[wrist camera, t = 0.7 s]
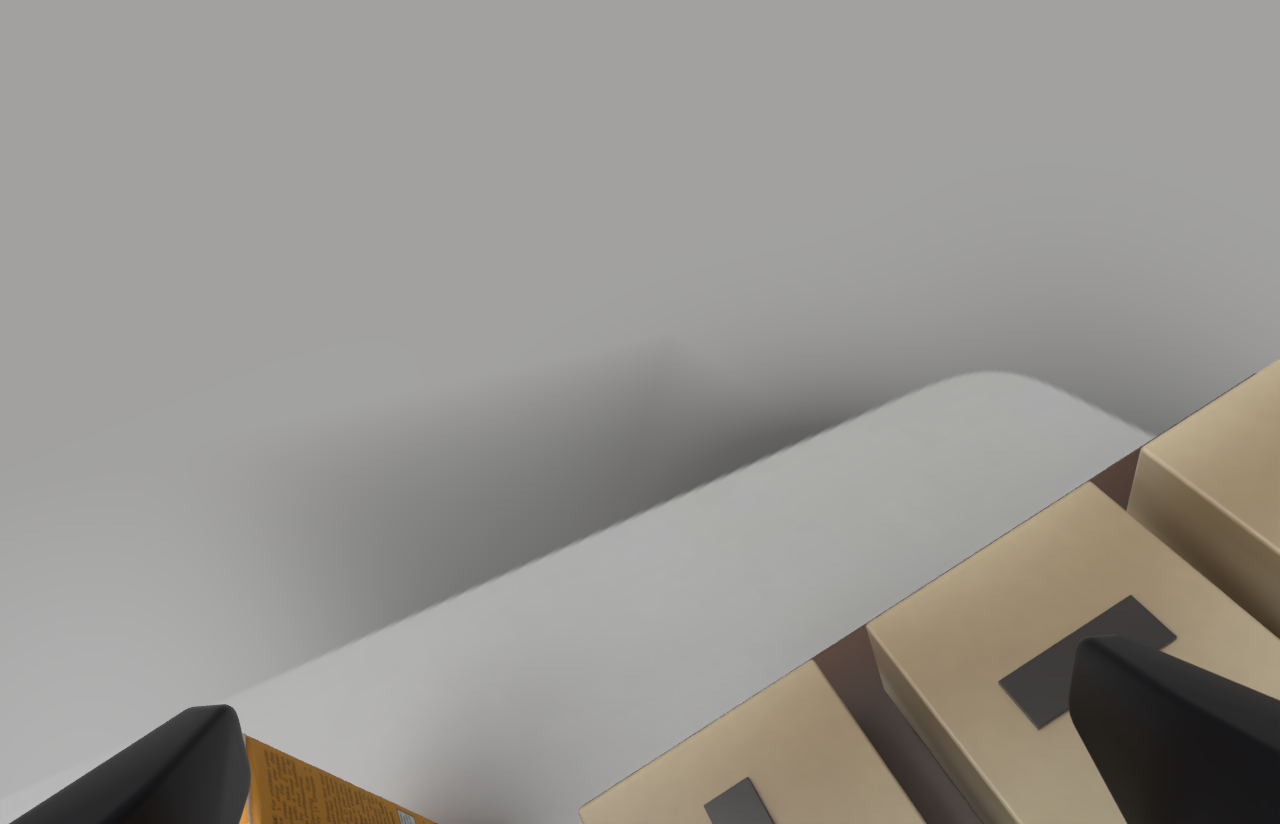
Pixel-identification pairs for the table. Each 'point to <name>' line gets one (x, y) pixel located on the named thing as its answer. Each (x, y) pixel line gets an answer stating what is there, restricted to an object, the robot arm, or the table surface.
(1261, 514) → the beige block with stripe
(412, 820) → the supplement box
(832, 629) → the table surface
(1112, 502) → the brown wooden box
